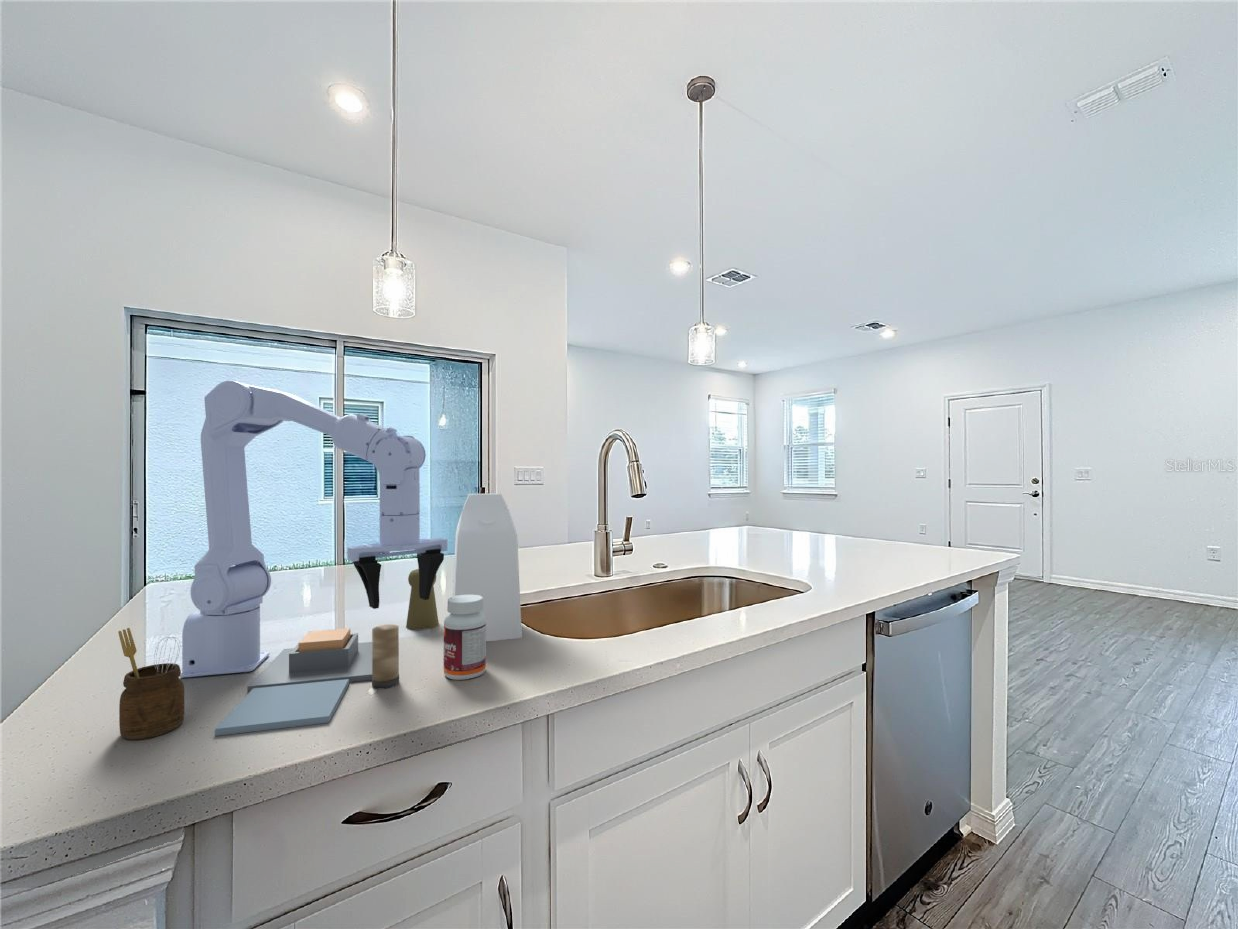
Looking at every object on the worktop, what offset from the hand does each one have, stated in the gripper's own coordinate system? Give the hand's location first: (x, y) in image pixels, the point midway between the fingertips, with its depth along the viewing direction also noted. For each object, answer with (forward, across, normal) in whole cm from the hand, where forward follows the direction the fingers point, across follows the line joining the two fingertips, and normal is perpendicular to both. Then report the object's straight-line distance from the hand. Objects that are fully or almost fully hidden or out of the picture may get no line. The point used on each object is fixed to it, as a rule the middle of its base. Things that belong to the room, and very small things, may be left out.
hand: (400, 602), depth 84 cm
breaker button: (+7, -8, +10) cm, 15 cm away
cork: (+10, +12, +21) cm, 26 cm away
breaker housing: (+10, -8, +10) cm, 16 cm away
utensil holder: (+10, -29, +1) cm, 31 cm away
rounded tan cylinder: (+10, -4, -4) cm, 11 cm away
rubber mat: (+10, -16, -3) cm, 19 cm away
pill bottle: (+10, +7, -8) cm, 15 cm away
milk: (+11, +19, +9) cm, 24 cm away
